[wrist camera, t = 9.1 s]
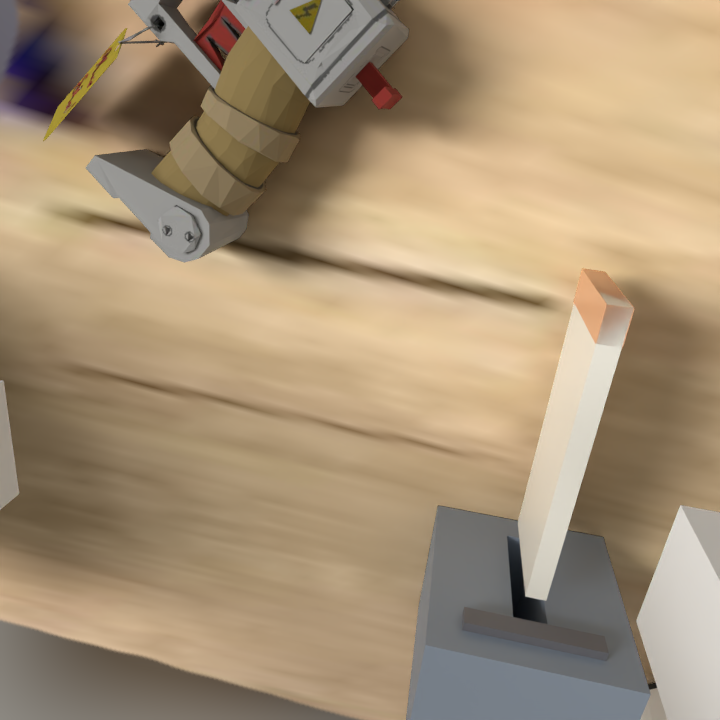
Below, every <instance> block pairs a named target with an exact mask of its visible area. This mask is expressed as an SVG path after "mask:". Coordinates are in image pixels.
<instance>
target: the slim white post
mask: <svg viewBox="0 0 720 720" xmlns="http://www.w3.org/2000/svg"><path fill="white" fill-rule="evenodd" d="M634 309H635V308H634V307H633V305H632V304H631V303H630V302H629V301H628V299H627V298H626V297H625V296H624V294H623V293H622V292H621V291H620V289H619V288H618V287H617V286H616V284H615V283H614V282H613V281H612V279H611V278H610V277H609V276H608V274H607V273H606V272H603V271H596V270H589V269H582V271H581V274H580V278H579V282H578V286H577V290H576V294H575V298H574V305H573V309H572V313H571V317H570V321H569V325H568V329H567V332H566V336H565V340H564V344H563V348H562V352H561V356H560V360H559V364H558V368H557V371H556V375H555V379H554V383H553V387H552V391H551V395H550V399H549V403H548V406H547V410H546V414H545V418H544V422H543V426H542V430H541V434H540V438H539V441H538V445H537V449H536V453H535V457H534V461H533V465H532V469H531V473H530V476H529V480H528V484H527V488H526V492H525V496H524V500H523V504H522V508H521V511H520V515H519V519H518V531H519V540H520V550H521V559H522V569H523V578H524V588H525V597H530V598H535V599H540V600H545V601H546V600H547V597H548V593H549V590H550V587H551V583H552V580H553V577H554V573H555V570H556V567H557V563H558V560H559V557H560V553H561V550H562V546H563V543H564V540H565V536H566V533H567V530H568V526H569V523H570V520H571V516H572V513H573V510H574V506H575V503H576V500H577V496H578V493H579V490H580V486H581V483H582V480H583V476H584V473H585V469H586V466H587V463H588V459H589V456H590V453H591V449H592V446H593V443H594V439H595V436H596V433H597V429H598V426H599V423H600V419H601V416H602V413H603V409H604V406H605V402H606V399H607V396H608V392H609V389H610V386H611V382H612V379H613V376H614V372H615V369H616V366H617V362H618V359H619V356H620V352H621V349H622V348H623V346H624V343H625V339H626V336H627V333H628V329H629V326H630V323H631V319H632V316H633V313H634Z"/></svg>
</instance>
